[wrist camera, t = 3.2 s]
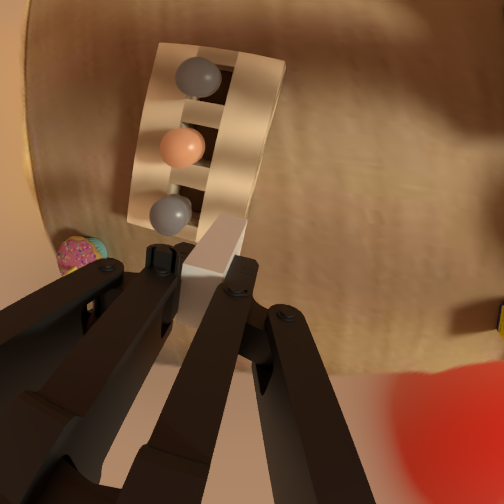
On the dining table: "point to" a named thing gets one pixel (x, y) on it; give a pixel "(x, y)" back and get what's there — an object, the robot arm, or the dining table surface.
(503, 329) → the supplement box
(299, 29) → the dining table surface
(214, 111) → the panel
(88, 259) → the cupcake
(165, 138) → the terracotta plug
